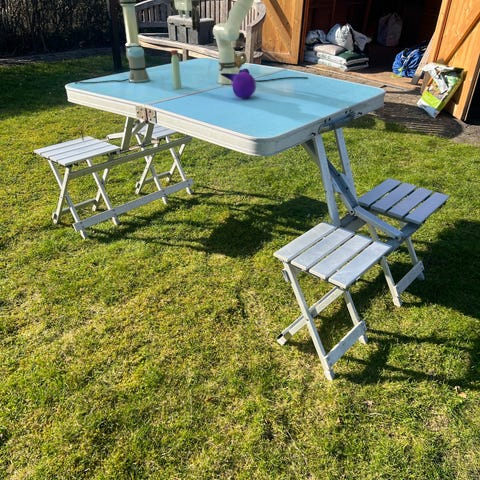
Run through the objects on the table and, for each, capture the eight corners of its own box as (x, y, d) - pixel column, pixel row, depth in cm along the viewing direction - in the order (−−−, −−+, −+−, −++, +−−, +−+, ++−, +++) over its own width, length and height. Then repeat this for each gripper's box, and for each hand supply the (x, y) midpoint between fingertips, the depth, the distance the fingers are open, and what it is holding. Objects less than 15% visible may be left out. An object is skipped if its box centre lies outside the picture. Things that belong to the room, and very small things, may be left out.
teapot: (227, 72, 362) (226, 52, 355) (220, 70, 371) (219, 51, 363) (249, 69, 371) (249, 50, 364) (242, 67, 380) (242, 48, 372)
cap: (178, 54, 301) (177, 50, 300) (171, 54, 300) (171, 51, 299) (177, 53, 305) (177, 49, 304) (171, 53, 304) (171, 50, 303)
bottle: (181, 89, 312) (178, 51, 300) (174, 89, 312) (170, 51, 299) (181, 87, 316) (178, 50, 304) (174, 88, 316) (170, 50, 304)
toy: (241, 90, 304) (255, 103, 283) (217, 85, 296) (230, 99, 276) (247, 66, 296) (262, 78, 275) (223, 61, 288) (236, 73, 268)
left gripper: (203, 0, 327) (204, 32, 338) (195, -1, 348) (197, 29, 358) (192, 0, 325) (195, 32, 336) (186, -1, 346) (188, 29, 357)
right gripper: (193, -7, 276) (195, 18, 283) (181, -7, 292) (182, 17, 299) (184, -6, 274) (185, 19, 281) (172, -7, 289) (173, 17, 296)
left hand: (196, 30), depth 347 cm, fingers open, 13 cm apart
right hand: (184, 18), depth 290 cm, fingers open, 8 cm apart
